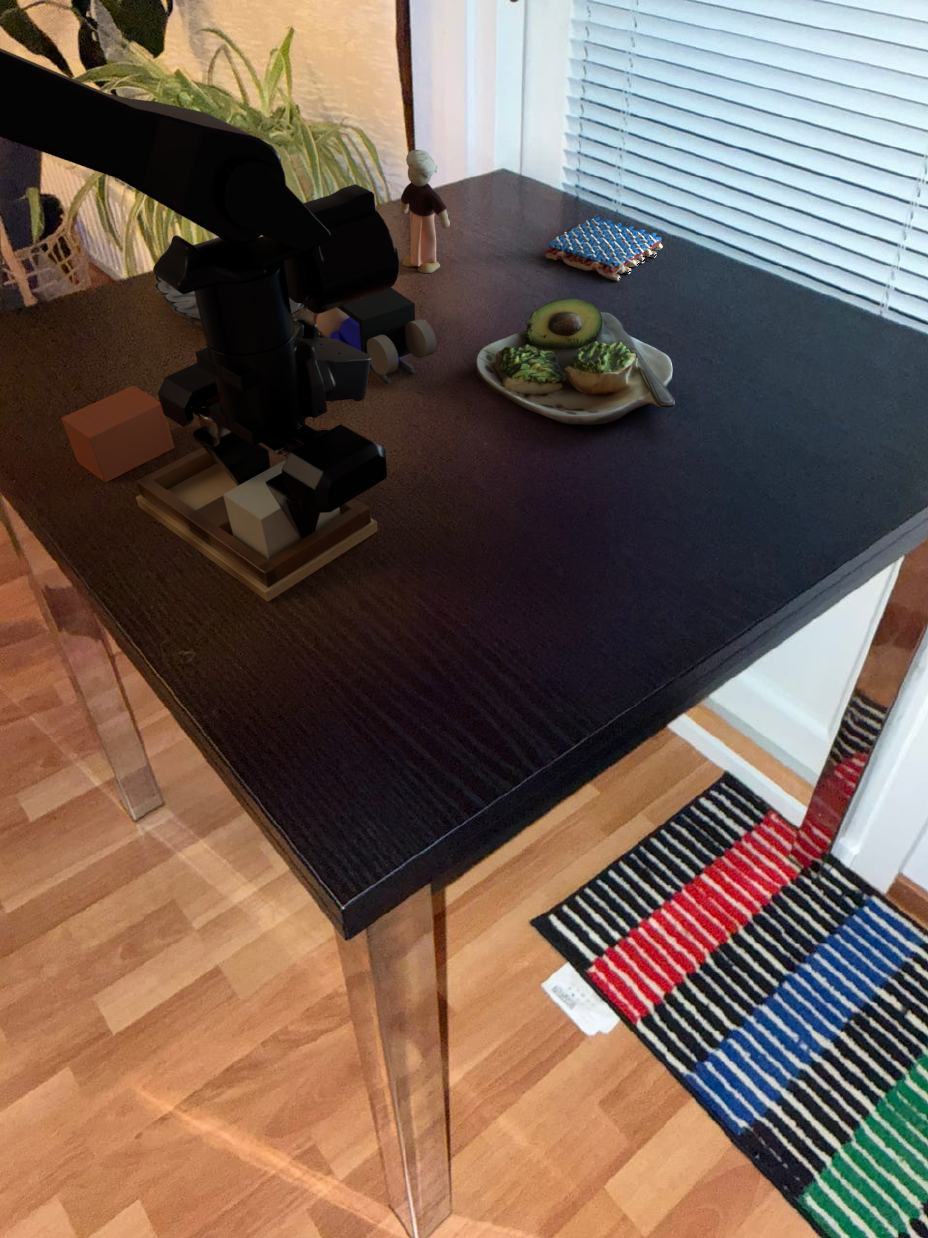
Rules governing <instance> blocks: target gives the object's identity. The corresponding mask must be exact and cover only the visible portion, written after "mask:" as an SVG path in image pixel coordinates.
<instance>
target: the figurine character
mask: <svg viewBox="0 0 928 1238" xmlns="http://www.w3.org/2000/svg"><path fill="white" fill-rule="evenodd" d="M313 323H314V324H316V325H317V328H318V332H319V335H325V336H327V337H329V338H332V339H336V340H339V341H342V342H344V343H346V344H348V345H350V346H352V347H354V348H356V349H358V350H360V351H362V352H364V353H366V354H368V355H370V356H371V364H370V369H369V372H371V373H372V374H374V375H375V376H376V377H377V378H378V379H379V380H381V381H382V382H383V383H384V384H389V385H391V384H392V381H391V379H390V378H389V377H388V376H386V375H388V374H390V373H393V372H396V371H397V370H398V368H400V369H401V370H402V371H404V372H405V373H406V374H407V375H415V368H414V367H413V366H411V364H410V363H408V362H406V361H405V360H404V359H403V358H402V357H404V356H407V355H409V354H411V355H412V356H414V357H415V358H417V359H422V358H425V357H428V356H431V355H434V353H435V352H436V350H437V349H436V348H437V340H436V335H435V331H434V330H433V327H432V326H431V325H430V324H429V323H428V322H427V321H426V320H425V319H423V318H417V319H416V303H415V302H413V300H412V301H411V300H410V299H409V298H408V297H406V296H404V295H403V294H401V293H400V292H399V291H398V290H396V289H394V288H393V287H391V288H389V289H386V290H383V291H381V292H378V293H375V294H372V295H370V296H367V297H364V298H362V299H359V300H356V301H353V302H351V303H348V304H345V305H343V306H340V307H337V308H334V309H332V310H329V311H326V312H323V313H320V314H317V313H313Z"/></svg>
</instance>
